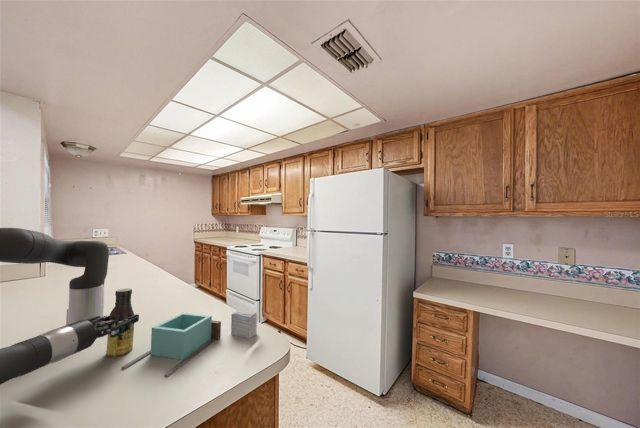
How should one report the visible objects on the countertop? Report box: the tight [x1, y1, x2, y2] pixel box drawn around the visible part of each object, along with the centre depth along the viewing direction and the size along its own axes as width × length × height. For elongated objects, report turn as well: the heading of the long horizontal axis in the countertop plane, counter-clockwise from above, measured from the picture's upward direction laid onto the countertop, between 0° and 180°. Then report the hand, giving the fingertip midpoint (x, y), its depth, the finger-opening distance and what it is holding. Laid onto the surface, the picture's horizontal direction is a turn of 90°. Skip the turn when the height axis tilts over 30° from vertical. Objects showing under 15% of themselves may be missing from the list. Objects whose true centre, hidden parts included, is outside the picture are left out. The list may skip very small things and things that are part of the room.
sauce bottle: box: [105, 288, 135, 358], centre depth 76 cm, size 7×6×20 cm
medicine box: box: [230, 309, 258, 339], centre depth 89 cm, size 8×4×9 cm, turn 71°
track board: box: [121, 320, 222, 378], centre depth 77 cm, size 16×22×7 cm
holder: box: [150, 312, 213, 361], centre depth 79 cm, size 11×12×8 cm
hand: (128, 316), depth 78 cm, fingers closed on sauce bottle, 6 cm apart
